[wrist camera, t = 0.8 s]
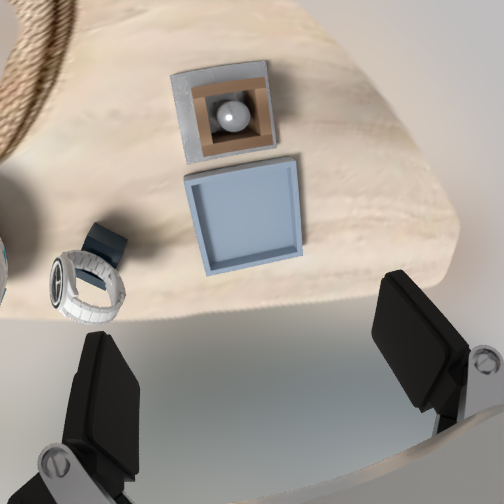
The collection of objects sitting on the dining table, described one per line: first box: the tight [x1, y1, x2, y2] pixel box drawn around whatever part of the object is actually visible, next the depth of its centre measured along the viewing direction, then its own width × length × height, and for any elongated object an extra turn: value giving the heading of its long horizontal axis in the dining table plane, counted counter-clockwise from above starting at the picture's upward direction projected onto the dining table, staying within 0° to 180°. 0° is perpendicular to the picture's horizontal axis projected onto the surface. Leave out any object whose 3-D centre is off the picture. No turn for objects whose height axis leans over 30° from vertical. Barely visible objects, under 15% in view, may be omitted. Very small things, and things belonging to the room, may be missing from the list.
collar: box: [191, 77, 273, 157], centre depth 25 cm, size 6×6×6 cm
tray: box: [184, 156, 303, 276], centre depth 33 cm, size 11×11×2 cm
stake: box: [170, 61, 277, 164], centre depth 25 cm, size 9×9×8 cm
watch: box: [50, 223, 128, 325], centre depth 28 cm, size 6×8×11 cm
